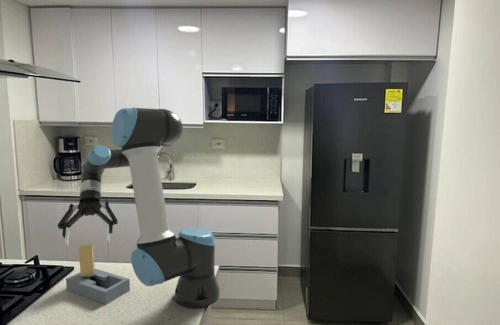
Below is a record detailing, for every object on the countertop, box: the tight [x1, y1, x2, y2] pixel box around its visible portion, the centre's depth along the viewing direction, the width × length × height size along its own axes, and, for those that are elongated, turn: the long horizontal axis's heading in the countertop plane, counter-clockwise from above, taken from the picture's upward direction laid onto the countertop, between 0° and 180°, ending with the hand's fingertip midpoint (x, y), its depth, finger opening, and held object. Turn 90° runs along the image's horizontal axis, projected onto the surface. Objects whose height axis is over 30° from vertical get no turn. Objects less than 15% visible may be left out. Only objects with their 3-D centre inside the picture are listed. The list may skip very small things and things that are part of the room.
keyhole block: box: [65, 268, 131, 305], centre depth 115 cm, size 20×10×4 cm, turn 64°
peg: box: [78, 243, 97, 283], centre depth 117 cm, size 5×5×15 cm
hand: (87, 243), depth 120 cm, fingers open, 13 cm apart
